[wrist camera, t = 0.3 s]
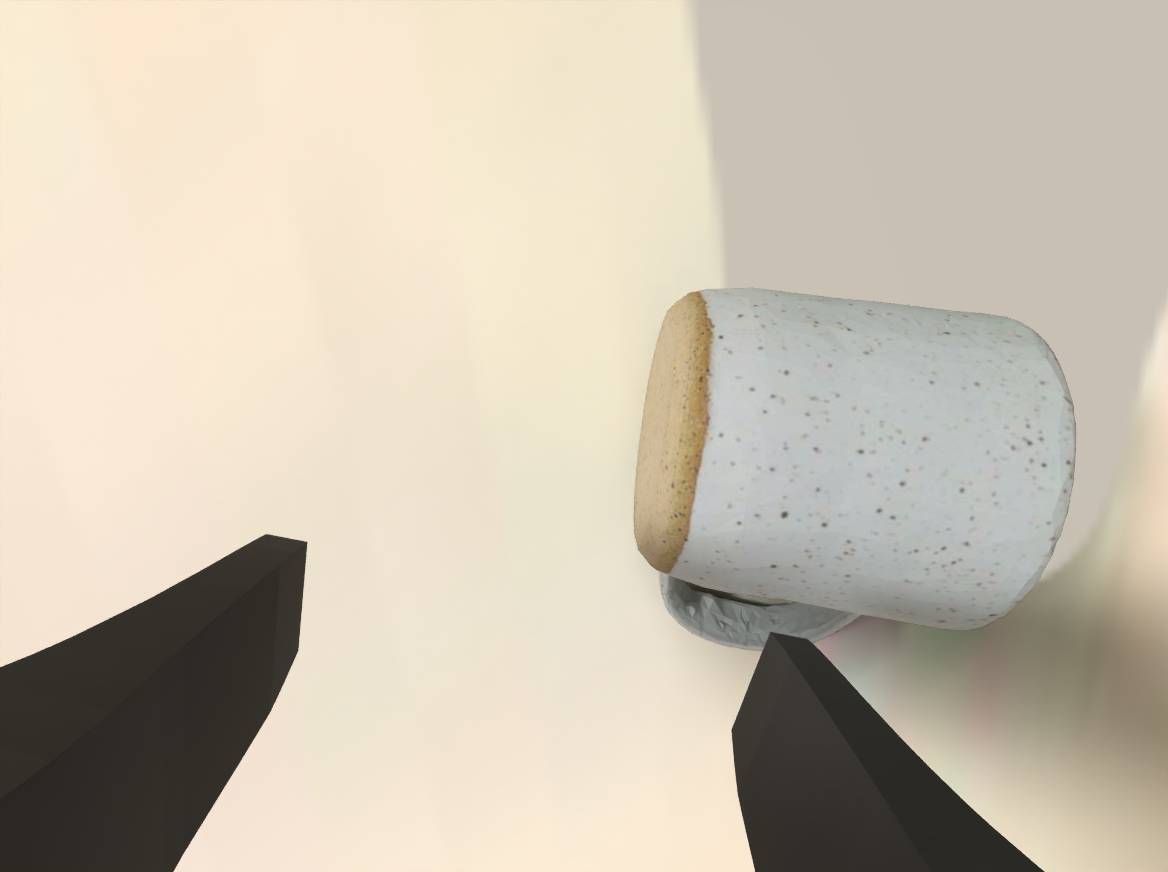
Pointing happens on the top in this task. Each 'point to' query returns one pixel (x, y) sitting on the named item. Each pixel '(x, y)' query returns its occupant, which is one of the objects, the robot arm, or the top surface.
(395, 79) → the top surface
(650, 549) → the ceramic mug
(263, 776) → the top surface
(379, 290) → the top surface
